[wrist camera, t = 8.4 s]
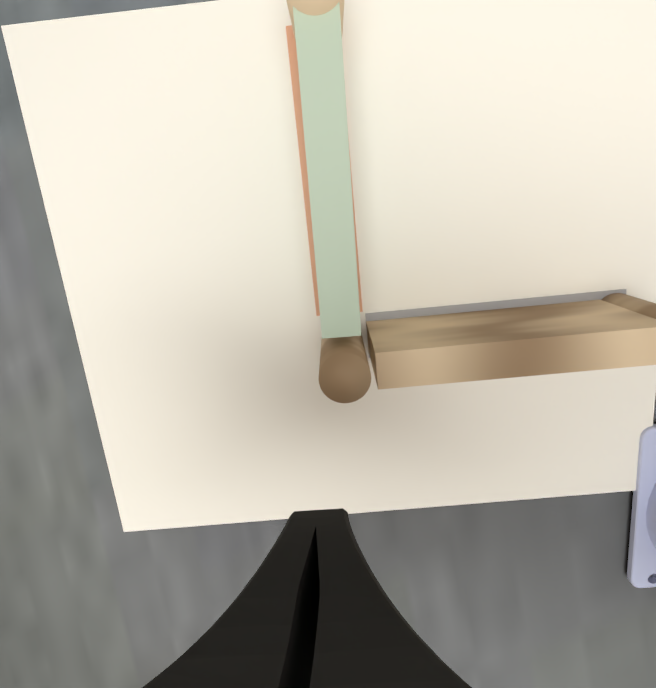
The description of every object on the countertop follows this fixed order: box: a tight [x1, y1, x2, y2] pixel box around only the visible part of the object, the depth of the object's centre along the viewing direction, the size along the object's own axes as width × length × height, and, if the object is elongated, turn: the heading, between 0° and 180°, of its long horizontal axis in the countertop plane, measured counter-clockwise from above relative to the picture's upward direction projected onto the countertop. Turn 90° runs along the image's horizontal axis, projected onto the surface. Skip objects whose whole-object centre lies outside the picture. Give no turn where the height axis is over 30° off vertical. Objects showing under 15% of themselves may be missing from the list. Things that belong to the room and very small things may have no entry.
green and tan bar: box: [286, 0, 361, 339], centre depth 15 cm, size 10×2×4 cm, turn 5°
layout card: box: [1, 0, 656, 532], centre depth 19 cm, size 23×20×1 cm
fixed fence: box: [319, 293, 656, 403], centre depth 17 cm, size 12×2×5 cm, turn 96°
